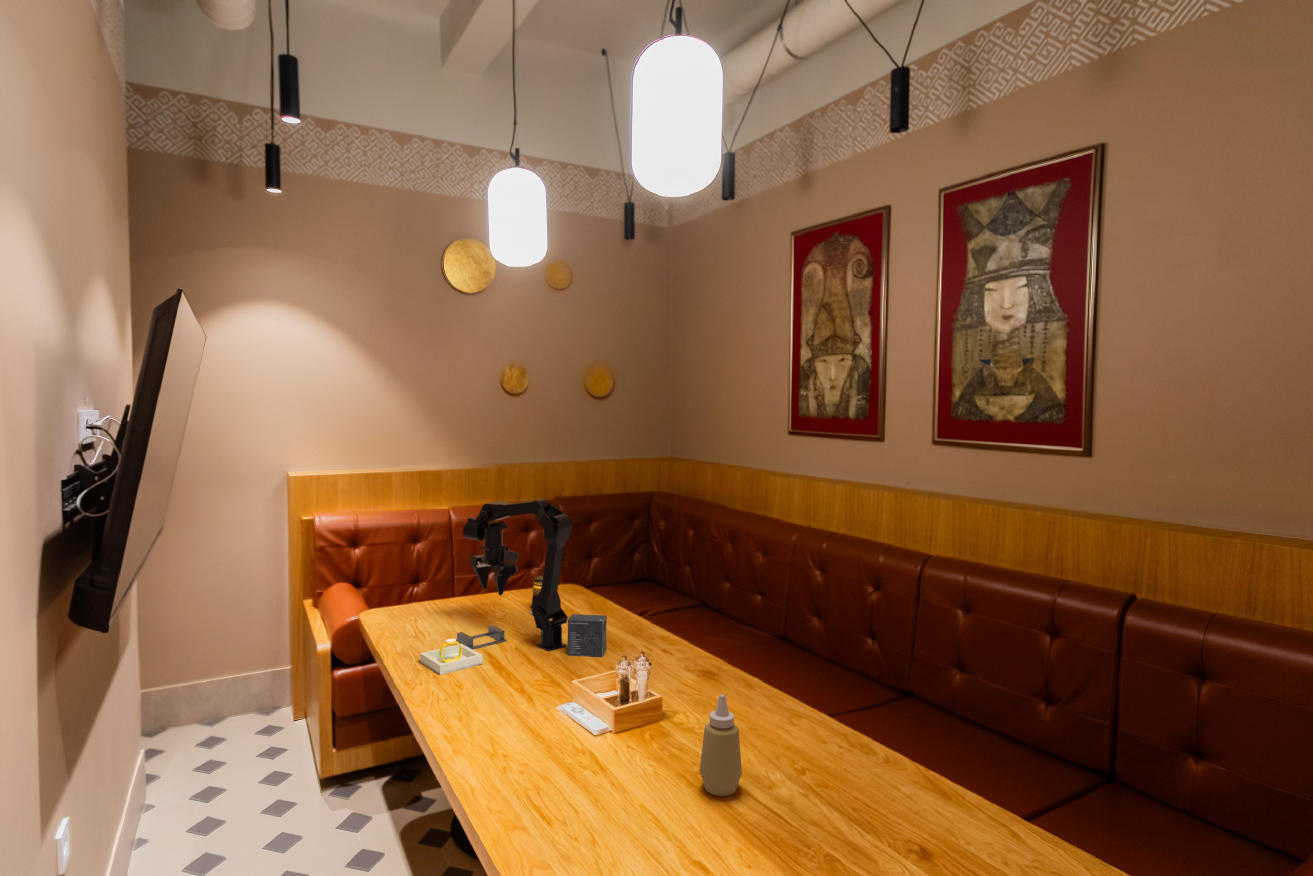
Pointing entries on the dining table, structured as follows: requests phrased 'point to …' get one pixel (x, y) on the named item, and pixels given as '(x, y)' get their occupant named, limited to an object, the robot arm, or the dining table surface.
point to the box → (587, 635)
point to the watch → (449, 641)
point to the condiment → (537, 585)
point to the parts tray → (451, 652)
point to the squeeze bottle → (721, 752)
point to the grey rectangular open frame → (492, 632)
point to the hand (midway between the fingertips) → (492, 591)
